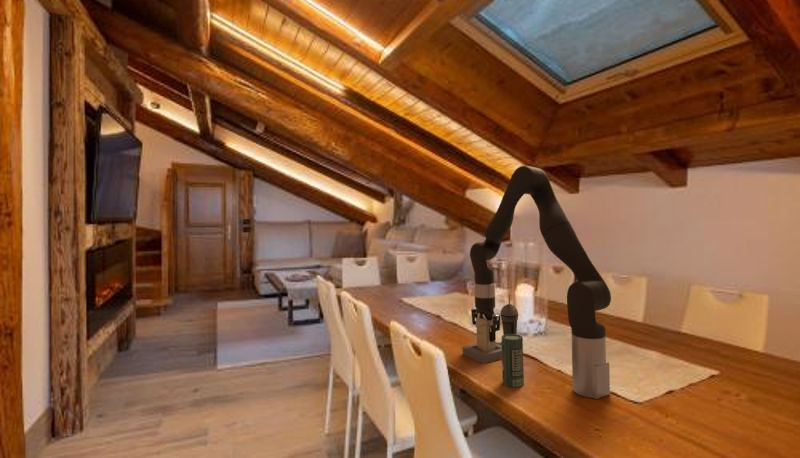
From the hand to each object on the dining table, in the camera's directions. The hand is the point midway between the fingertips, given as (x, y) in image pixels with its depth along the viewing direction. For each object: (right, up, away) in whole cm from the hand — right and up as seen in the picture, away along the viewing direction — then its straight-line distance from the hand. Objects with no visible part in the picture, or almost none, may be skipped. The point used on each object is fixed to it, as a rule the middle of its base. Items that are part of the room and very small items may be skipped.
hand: (486, 338), depth 159 cm
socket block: (0, -6, 0) cm, 6 cm away
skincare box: (0, -4, 0) cm, 4 cm away
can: (+3, -8, -26) cm, 27 cm away
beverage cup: (+13, -5, +14) cm, 20 cm away
